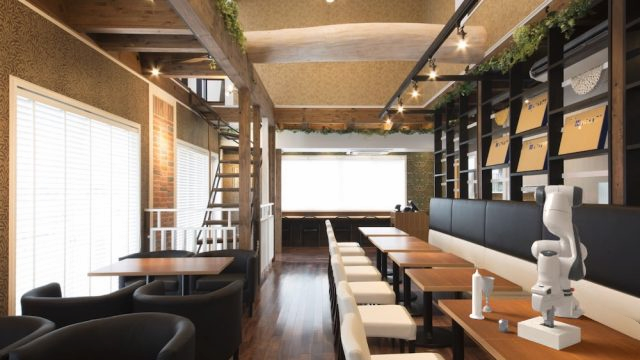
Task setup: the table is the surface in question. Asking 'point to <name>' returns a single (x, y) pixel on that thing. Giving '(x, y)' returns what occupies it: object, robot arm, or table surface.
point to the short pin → (503, 325)
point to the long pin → (550, 318)
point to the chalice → (487, 290)
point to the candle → (477, 296)
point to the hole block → (549, 333)
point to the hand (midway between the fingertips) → (548, 318)
